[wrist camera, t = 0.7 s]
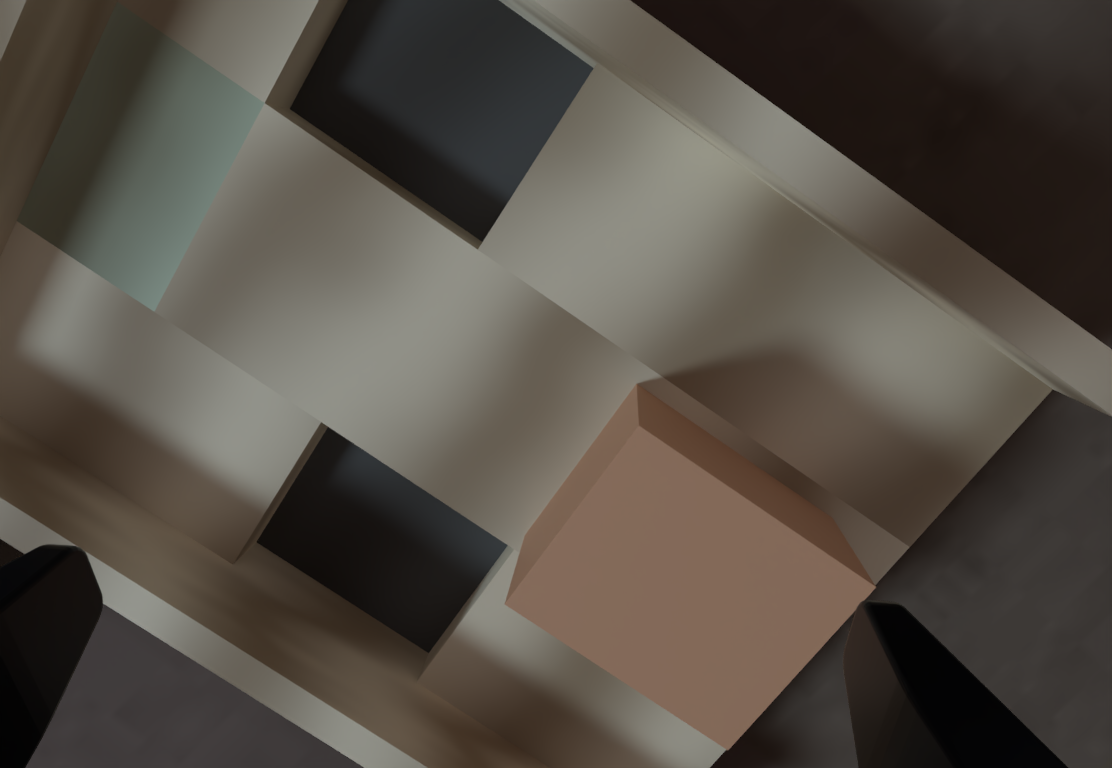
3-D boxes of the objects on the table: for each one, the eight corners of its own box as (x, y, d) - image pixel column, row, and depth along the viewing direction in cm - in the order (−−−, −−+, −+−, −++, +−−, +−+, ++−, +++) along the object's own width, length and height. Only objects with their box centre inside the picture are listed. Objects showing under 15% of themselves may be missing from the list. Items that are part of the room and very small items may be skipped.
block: (832, 518, 19) (876, 587, 16) (711, 659, 21) (728, 750, 17) (636, 383, 19) (638, 425, 16) (524, 535, 20) (504, 604, 17)
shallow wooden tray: (1039, 339, 20) (1154, 381, 16) (630, 802, 24) (631, 935, 20) (240, -237, 18) (121, -369, 14) (-41, 371, 23) (-198, 414, 18)
